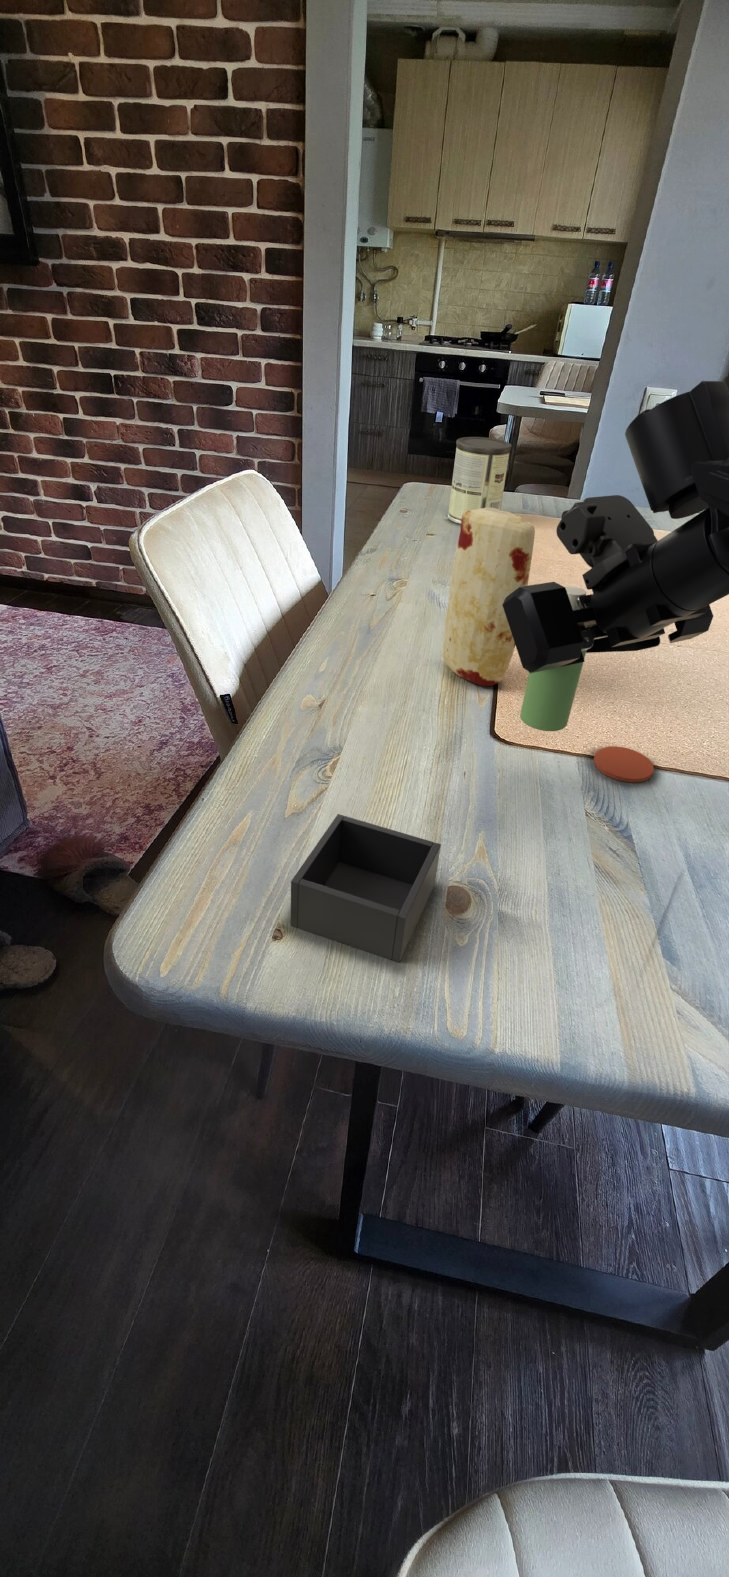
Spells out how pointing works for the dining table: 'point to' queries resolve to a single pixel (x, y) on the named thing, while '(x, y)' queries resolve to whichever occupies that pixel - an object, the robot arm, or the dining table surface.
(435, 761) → the dining table surface
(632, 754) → the mat
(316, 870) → the dark grey open box
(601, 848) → the dining table surface
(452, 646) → the food model
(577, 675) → the soap bottle
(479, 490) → the coffee can
